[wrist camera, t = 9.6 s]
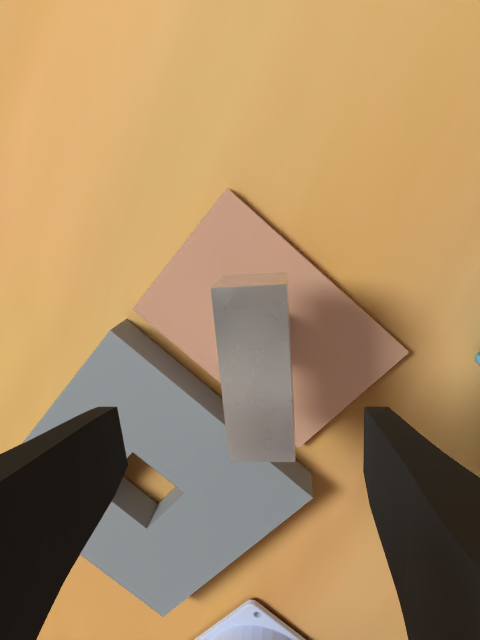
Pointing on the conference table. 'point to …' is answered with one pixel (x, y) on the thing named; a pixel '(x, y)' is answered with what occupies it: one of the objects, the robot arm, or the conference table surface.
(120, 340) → the cover plate
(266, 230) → the tile
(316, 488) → the conference table surface
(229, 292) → the t key
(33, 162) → the conference table surface
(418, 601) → the robot arm
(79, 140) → the conference table surface
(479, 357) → the blue box
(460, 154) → the conference table surface
